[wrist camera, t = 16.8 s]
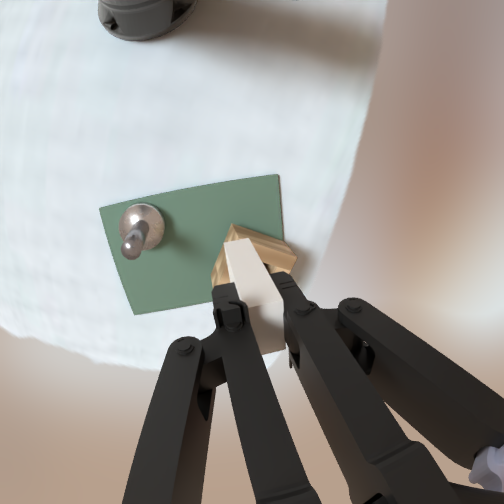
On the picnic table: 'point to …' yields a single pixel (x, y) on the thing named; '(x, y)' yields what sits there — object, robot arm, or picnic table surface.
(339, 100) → the picnic table surface
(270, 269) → the square wooden frame
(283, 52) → the picnic table surface
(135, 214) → the stand
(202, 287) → the mat
